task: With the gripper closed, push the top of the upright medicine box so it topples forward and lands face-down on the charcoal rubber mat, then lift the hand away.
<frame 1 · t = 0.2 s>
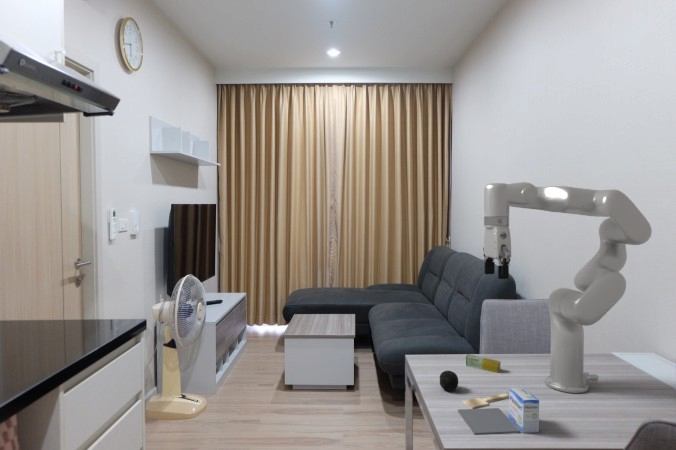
hand: (496, 276, 138), 36 cm above the table, tool pointing down, fingers open, 9 cm apart
billiard ball: (448, 390, 139), on the table
medication box: (483, 369, 157), on the table
medicine box: (523, 426, 116), on the table
wooden turner: (487, 401, 131), on the table
mat: (487, 421, 119), on the table
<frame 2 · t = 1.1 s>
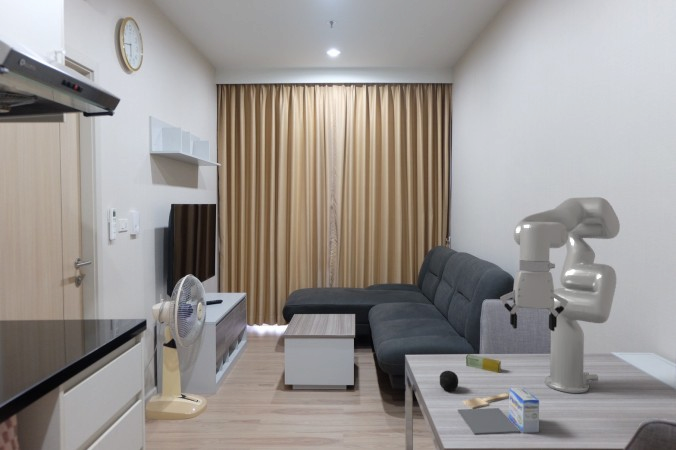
hand: (532, 328, 121), 25 cm above the table, tool pointing down, fingers open, 9 cm apart
nothing on the table moved.
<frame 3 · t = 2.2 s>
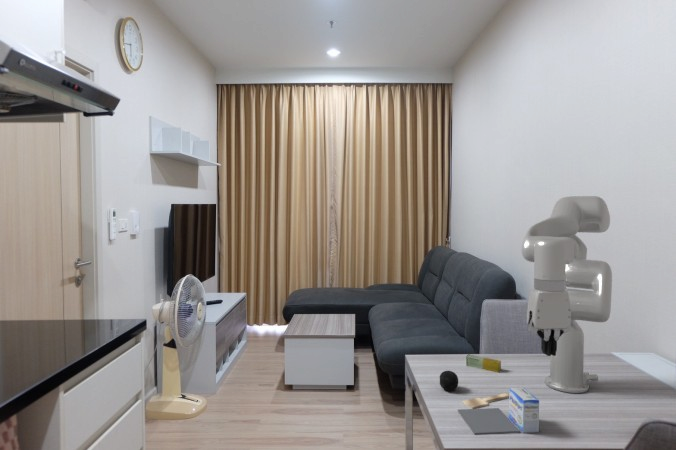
hand: (548, 354, 116), 19 cm above the table, tool pointing down, fingers closed
nothing on the table moved.
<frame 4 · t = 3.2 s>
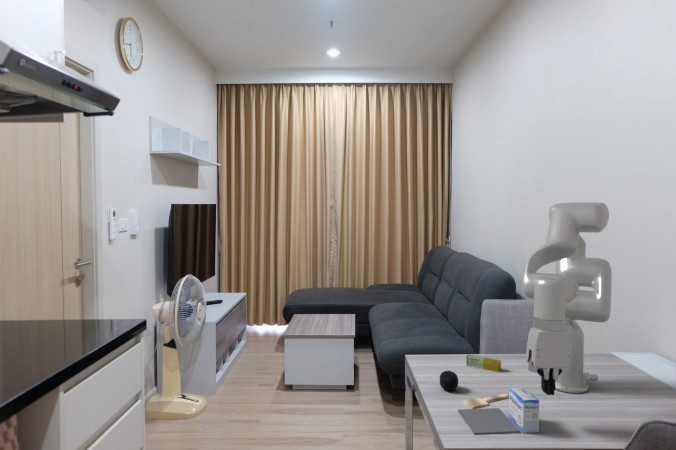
hand: (548, 392, 116), 9 cm above the table, tool pointing down, fingers closed
nothing on the table moved.
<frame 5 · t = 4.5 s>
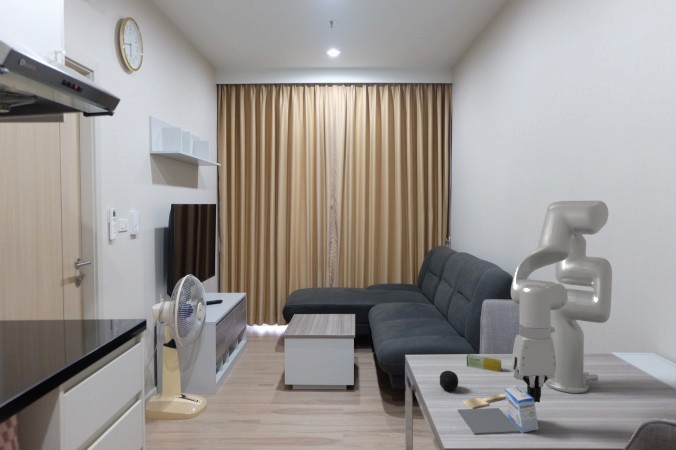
hand: (533, 400, 116), 7 cm above the table, tool pointing down, fingers closed
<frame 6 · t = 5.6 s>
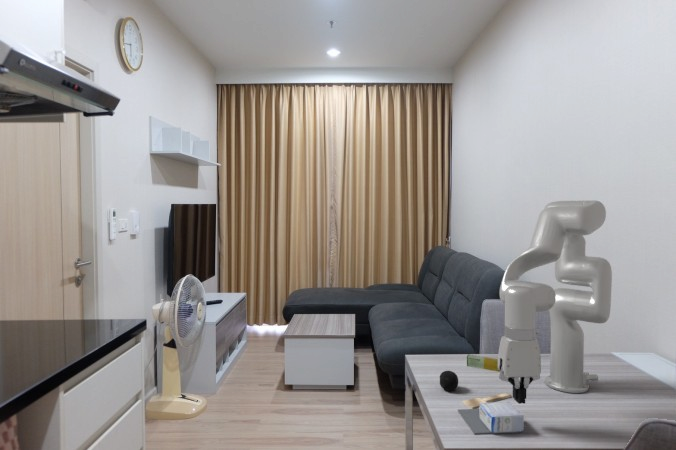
hand: (519, 401, 116), 7 cm above the table, tool pointing down, fingers closed
medicine box: (517, 415, 116), point 3 cm above the table, touching mat
everything else where it was.
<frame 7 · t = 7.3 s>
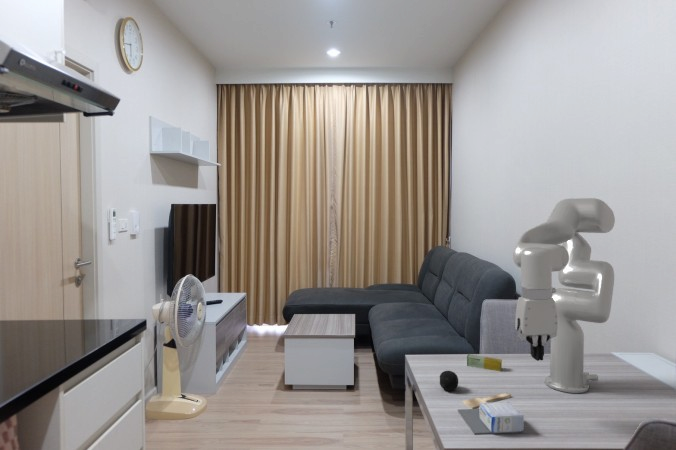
hand: (537, 358, 120), 17 cm above the table, tool pointing down, fingers closed
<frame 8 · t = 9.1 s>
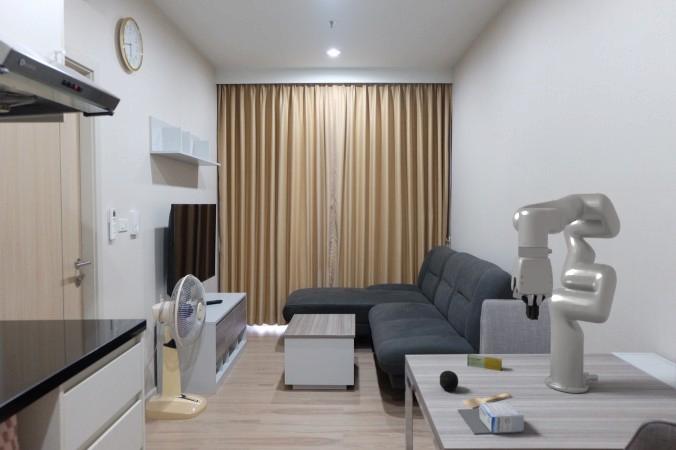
hand: (532, 318, 121), 27 cm above the table, tool pointing down, fingers closed
at the end: medicine box tilted 90°; medicine box inside the target area (6.8 cm from its centre), point 2.6 cm above the table; medicine box touching mat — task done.
